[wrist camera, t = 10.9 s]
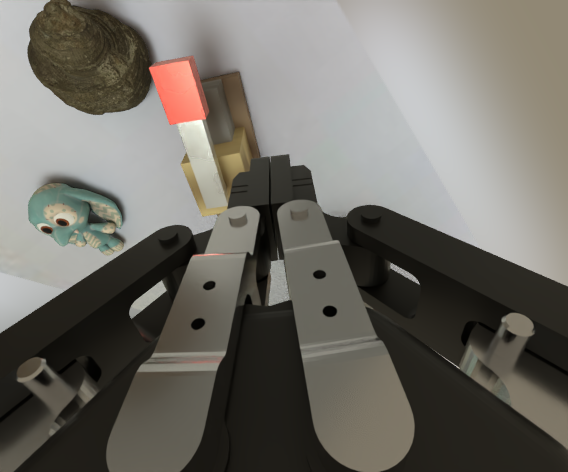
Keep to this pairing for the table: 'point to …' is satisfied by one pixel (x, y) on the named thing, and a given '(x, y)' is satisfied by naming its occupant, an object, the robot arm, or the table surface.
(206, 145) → the valve lever
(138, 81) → the seashell
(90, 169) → the table surface
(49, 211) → the stuffed animal
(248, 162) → the valve plinth
